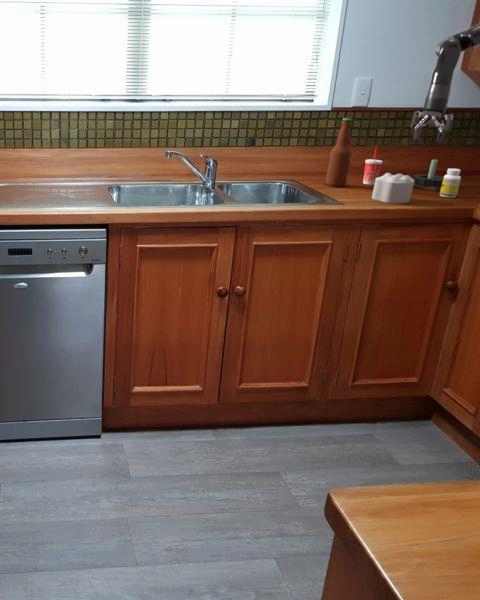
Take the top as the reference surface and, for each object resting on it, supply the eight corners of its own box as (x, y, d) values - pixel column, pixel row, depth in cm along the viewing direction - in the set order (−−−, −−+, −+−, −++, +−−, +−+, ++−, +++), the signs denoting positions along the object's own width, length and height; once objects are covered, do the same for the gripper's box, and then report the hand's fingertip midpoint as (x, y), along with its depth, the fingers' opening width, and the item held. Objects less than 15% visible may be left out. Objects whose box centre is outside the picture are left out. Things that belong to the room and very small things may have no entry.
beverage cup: (374, 182, 242) (382, 146, 237) (380, 185, 237) (387, 149, 231) (358, 181, 243) (365, 146, 237) (363, 184, 237) (371, 148, 232)
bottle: (349, 186, 234) (362, 119, 224) (334, 187, 231) (347, 119, 221) (335, 182, 240) (347, 117, 230) (321, 183, 237) (332, 117, 228)
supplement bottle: (440, 193, 225) (447, 167, 221) (457, 196, 221) (464, 169, 218) (437, 196, 221) (444, 169, 217) (454, 198, 218) (461, 171, 214)
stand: (445, 188, 234) (452, 160, 230) (433, 190, 229) (440, 162, 225) (422, 184, 241) (429, 157, 237) (410, 186, 236) (416, 159, 232)
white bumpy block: (367, 197, 217) (372, 173, 213) (392, 194, 222) (397, 170, 219) (392, 204, 208) (398, 179, 205) (418, 201, 213) (423, 176, 210)
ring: (450, 184, 233) (452, 178, 232) (435, 187, 227) (437, 181, 226) (421, 179, 242) (422, 173, 241) (406, 182, 236) (407, 176, 235)
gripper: (462, 97, 222) (451, 143, 228) (423, 95, 233) (414, 138, 239) (452, 98, 218) (441, 144, 224) (413, 95, 229) (403, 139, 235)
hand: (427, 141), depth 232 cm, fingers open, 8 cm apart
